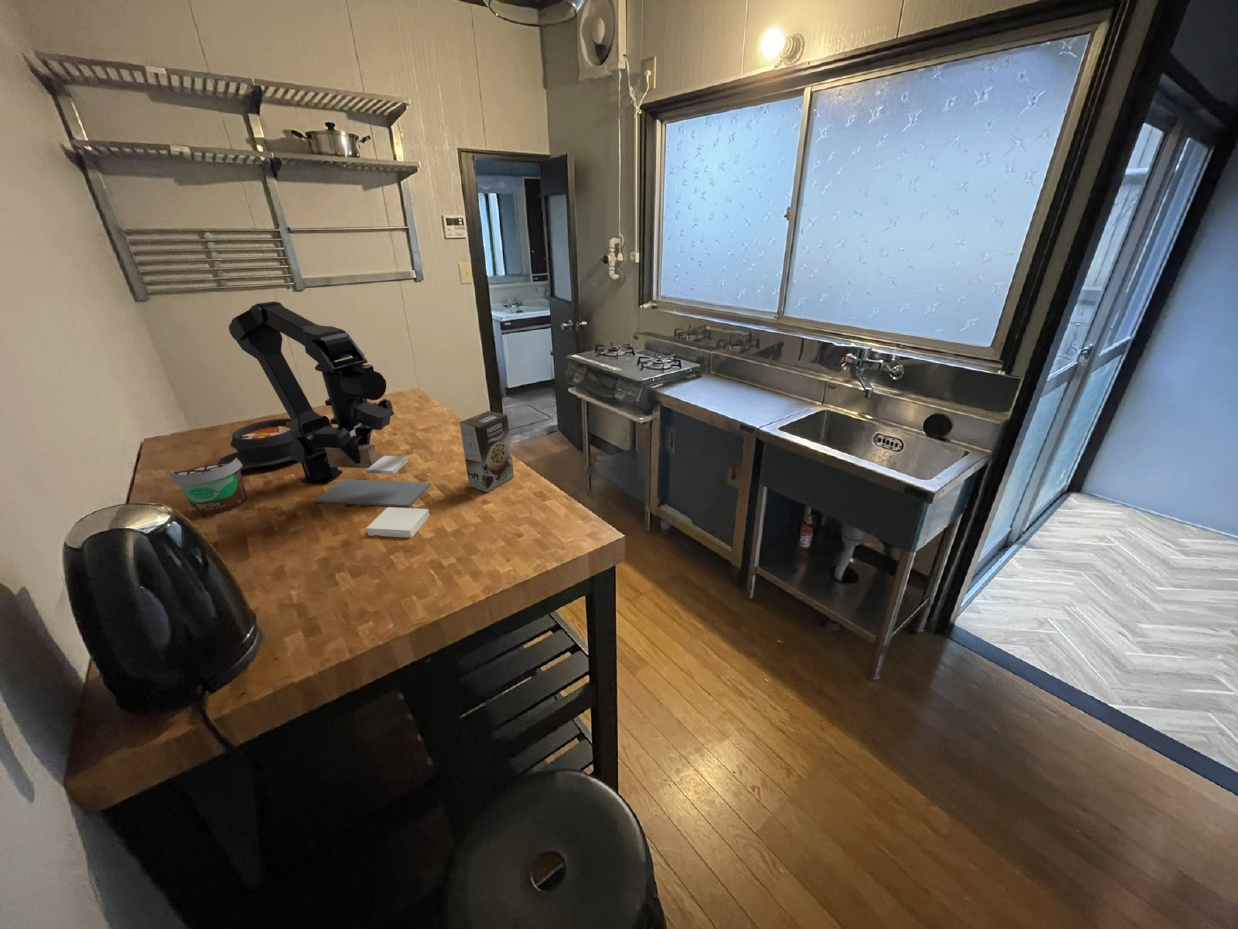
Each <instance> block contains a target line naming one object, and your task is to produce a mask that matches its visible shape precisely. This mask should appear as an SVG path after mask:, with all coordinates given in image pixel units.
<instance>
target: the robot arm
mask: <svg viewBox="0 0 1238 929" xmlns="http://www.w3.org/2000/svg"><path fill="white" fill-rule="evenodd" d="M228 331H229V334H230V335H231V337H232V339H233V340H235V341H236V342H237V344H238V345H239V347H240V348H241V350H242V351H243V352H245V353H246V354H248V355H250V356H252V357H253V358H255V359H256V360H257V361H258V363H259V364H260V367H261V368H262V370H263V372H264V374H265V375H266V377H267V379H268V380H269V383H270V385H271V386H272V388H273V390H274V391H275V394H276V396H277V397H278V399H279V401H280V402H281V404H282V405H283V408H284V409H285V411H286V413H287V415H288V417H289V419H291V426H290V435H291V437H292V439H293V442H292V444H291V447H290V449H289V454H290V456H291V458H292V459H293V460H292V461H296V462H298V463H299V462H300V463H301V467H302V469H303V472H304V476H305V478H304V479H302V480H301V483H302V484H319V485H327V484H329V483H330V482H332V481H333V480H334V479H335V478H337V477H338V476H339V475H341V474H342V473H343V470H342V469H339V467H330V464H329V461H328V457H327V454H326V451H325V448H340V449H341V450H342V451H343V452H344V453H345V454H346V455H347V456H348V457H349V458H350V459H351V460H352V461H353V462H354V463H355V464H360V454H359V448H358V444H361V445H371V443H370V442H371V438H372V433H373V432H374V431H381V430H383V429H384V428H385V427H387V426H388V425H390V422H391V417H393V416H394V415H395V411H394V410H393V405H392V402H391V400H389V399H387V398H383V399H382V397H384V395H385V393H386V390H387V381H386V379H385V378H384V376H383V375H382V373H380V372H379V371H375V369H374V365H372V364H368V359H367V358H366V357H365V353H364V352H363V351H362V350H361V349H360V348H359V347H358V345H357V344H356V342H355V341H354V339H353V338H352V337H351V335H350V334H349V333H348V332H347V331H345V330H344V329H341V328H338V327H335V326H332V325H331V326H330V325H329V326H328V325H321V324H320V325H319V324H316V323H315V322H313V321H311V320H308V319H307V318H305V317H303V316H302V315H299V314H297V313H296V312H294V311H292V310H290V309H288V308H286V307H285V306H284V304H282V303H281V302H278V301H274V300H273V301H266V302H257V303H255V304H253V305H251V307H250V308H249V309H248V310H246V311H244V312H242V313H241V314H239V315H237V316H235V317H233V318H232V319H231V322H230V324H229V325H228ZM283 335H285V336H287V337H288V338H290V339H292V340H294V341H295V342H297V343H299V344H300V345H302V346H303V347H304V351H305V353H306V355H307V356H309V357H310V358H311V359H313V360H314V361H316V363H317V364H316V366H315V367H314V370H315V371H317V372H321V374H322V377H323V382H324V386H325V388H326V393H327V395H328V396H327V397H328V399H326V400H324V402H325V406H327V407H331V411H332V413H333V417H332V418H331V419H330V418H329V417H328V416H326V415H321V414H319V413H317V412H316V411H315V410H314V409H313V407H312V405H311V404H310V401H309V400H308V398H307V396H306V395H305V392H304V391H303V389H302V387H301V385H300V383H299V381H298V379H297V378H296V376H295V374H294V372H293V371H292V369H291V367H290V365H289V363H288V362H287V360H286V358H285V355H284V354H283V352H282V347H283V345H282V344H283ZM380 399H382V400H380ZM368 400H370V401H377V400H380V401H379V402H373V403H371V402H368ZM333 425H337V426H336V427H333Z"/></svg>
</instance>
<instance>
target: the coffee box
mask: <svg viewBox="0 0 1238 929" xmlns="http://www.w3.org/2000/svg"><path fill="white" fill-rule="evenodd" d="M459 428H460V434H461V441H462V447H463V455H464V460H465V468H466V472H467V473H466V474H467V480H468V486H469V487H471V488H474V489H476V490H480V491H482V492H485V493H488V492H491V491H492V490H494V489H496V488H498V487H500V486H501V485H504V484H505V483H507V482H508V481H510V480H512V479H514V478H515V471H514V463H513V455H512V446H511V437H510V428H509V419H508V415H507V414H503V413H500V412H495V411H489V410H487V411H484V412H482V413H480V414H477V415H475V416H472V417H469V418H467V419H464V420H461V421H459ZM499 485H500V486H499ZM497 486H498V487H497Z"/></svg>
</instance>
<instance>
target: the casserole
mask: <svg viewBox="0 0 1238 929" xmlns="http://www.w3.org/2000/svg"><path fill="white" fill-rule="evenodd" d="M290 426H291V419H290V418H275V419H274V418H273V419H268V420H261V421H258V422H255V423H250V424H248V425H245V426H242V427H240V428H238V429H237V430H235V431H234V432H233V433H232V436H231V441H230V443H229V444H230V447H232V448H233V449H235V450H236V451H235V452H232V453H229V454H228V455H227V454H226V455H225V456H223V457H221V458H220V459H219V460H218V462H217V464H226V463H231V462H232V461H234V460H235V459H236V458H237V459H238V460H239V461H240V462H241V463H242V465H243V466H242V467H241V468H240V471H244V470H248V469H253V468H260V467H272V466H277V465H282V464H285V463H288V462H291V461H294V460H293V459H292V458H291V456H290V454H289V449H290V447H291V444H292V442H293V439H292V437H291V435H290Z"/></svg>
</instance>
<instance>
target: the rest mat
mask: <svg viewBox="0 0 1238 929" xmlns="http://www.w3.org/2000/svg"><path fill="white" fill-rule="evenodd" d="M431 485H432V484H431V482H414V481H412V482H411V481H396V480H395V481H393V480H391V481H389V480H368V479H349V478H348V479H347V478H342V479H341V480H340V481H339V482H337V483H336V484H334V485H333V486H331V488H329V489H328V490H326V491H325V492H324V493H323V494H322V495H319V497H317V498H316V499H314V501H315V503H325V504H326V503H327V504H343V503H346V504H347V505H348V504H349V505H366V506H367V505H368V506H384V507H400V508H411V507H412V505H413V504H414V503H415V502H416V501H417V500H418V499H419V497H421V496H422V495H423V494H424V493H425V491H426V490H427V489H429V487H430V486H431ZM346 504H345V505H346Z"/></svg>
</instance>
